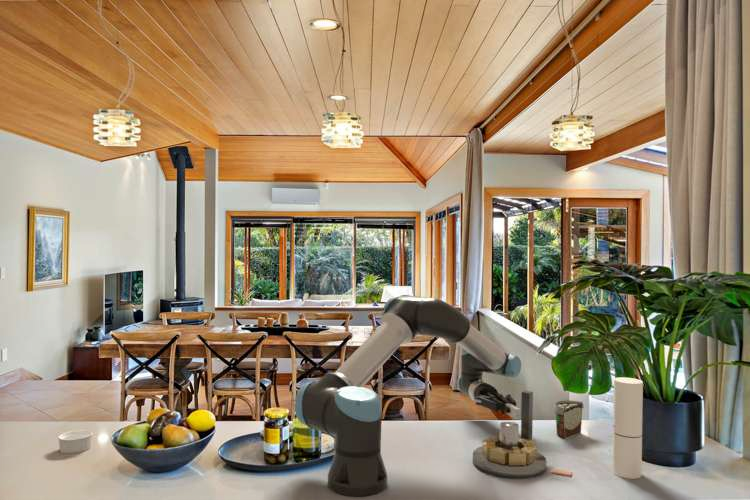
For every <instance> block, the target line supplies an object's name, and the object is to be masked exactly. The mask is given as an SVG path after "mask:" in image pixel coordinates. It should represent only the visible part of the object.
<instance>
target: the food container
mask: <svg viewBox="0 0 750 500" xmlns="http://www.w3.org/2000/svg"><path fill="white" fill-rule="evenodd" d="M583 409H584V403H583V401H578V400H567V399H565V400H563V399H562V400H558V401H555V402H554V406H553V409H552V411H553V412H555V424H556V436H557V437H559V438H560V439H563V440H568V439H569V438H572V437H575V436H577V435H580V434H581V433H582V423H583V422H582V420H583Z"/></svg>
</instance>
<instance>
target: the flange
mask: <svg viewBox="0 0 750 500" xmlns="http://www.w3.org/2000/svg"><path fill="white" fill-rule="evenodd" d="M499 424H500V425H499V430H500V432H499V433H500V448H503V449H506V450H511V447H518V446H519V438H520V436H519V434H520V429H519V427H520V426H519V424H518V423H516V422H513V421H503V422H500V423H499ZM472 464H473V466H474V467H475V468H476V469H478V470H480V471H481V472H483V473H486V474H488V475H491V476H494V477H498V478H504V479H512V480H513V479H514V480H515V479H516V480H523V479H527V480H528V479H532V478H536V477H540V476H542V475H544V474H545V473H546V471H547V467H548V466H547V465H548V463H547V458H546V457H545V456H544V455H543V454H542V453H540V452H539V451H537V458H536V460H535V461H533V462H532V463H530V464H526V465H508V463H507V464H505V465H504V464H500V463H497V462H493V461H490V460H489V459H486V457H485V456H484V454H483V453H482V445H481V446H480V447H477V448H476V449H474V450H473V452H472Z"/></svg>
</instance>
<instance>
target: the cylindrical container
mask: <svg viewBox="0 0 750 500" xmlns="http://www.w3.org/2000/svg"><path fill="white" fill-rule="evenodd" d="M643 390H644V382H643V380H641V379H638V378H632V377H625V376H624V377H623V376H622V377H614V378H613V405H612V406H613V410H612V413H613V414H612V466H611V467H612V469H611V470H612V473H613V474H614V475H616V476H617V477H621V478H625V479H629V480H630V479H632V480H633V479H641V478H642V469H643V467H642V465H643V463H642V459H643V455H642V453H643V406H644V405H643V404H644V403H643V401H644V398H643V397H644V395H643V394H644V391H643Z"/></svg>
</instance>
